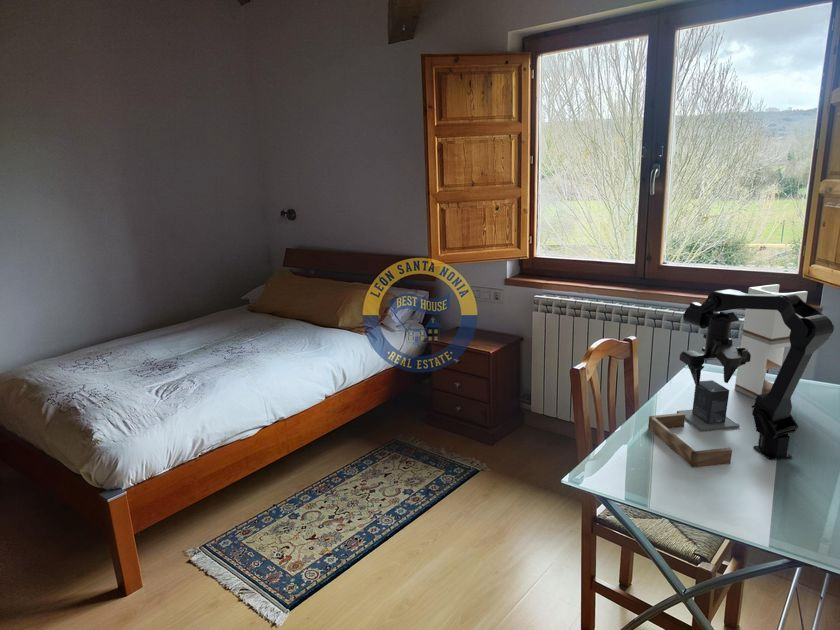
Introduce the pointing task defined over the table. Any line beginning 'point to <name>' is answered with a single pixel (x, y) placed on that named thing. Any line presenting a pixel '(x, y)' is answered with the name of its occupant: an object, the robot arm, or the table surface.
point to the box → (710, 402)
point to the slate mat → (704, 426)
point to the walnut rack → (693, 458)
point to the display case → (763, 344)
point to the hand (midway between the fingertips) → (711, 383)
